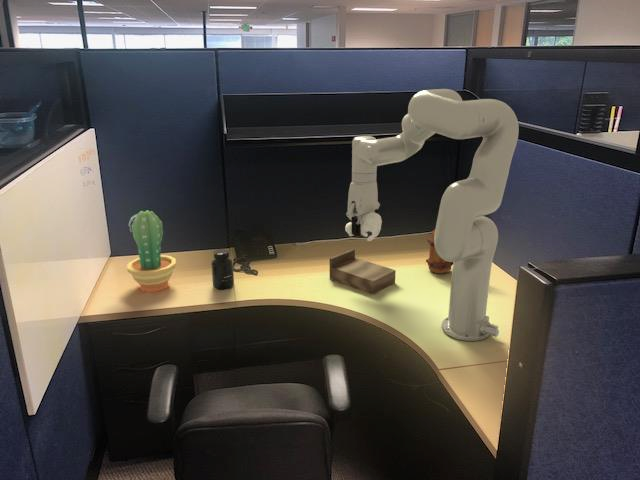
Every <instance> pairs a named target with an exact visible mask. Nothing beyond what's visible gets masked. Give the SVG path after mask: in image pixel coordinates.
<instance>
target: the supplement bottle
mask: <svg viewBox="0 0 640 480" xmlns="http://www.w3.org/2000/svg"><path fill="white" fill-rule="evenodd" d="M210 265H211V279H212V280H211V281H212V287H213V288H214V289H215V290H218V291H225V290H226V291H227V290H229V289H232V288H233V287H234V285H235V277H234V276H235V275H234V274H235V273H234V262H233V260H232V258H230V251H229V250H228V249H225V248H224V249H223V248H221V249H216V250H214V251H213V259H212V260H211V264H210Z"/></svg>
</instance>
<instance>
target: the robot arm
mask: <svg viewBox="0 0 640 480" xmlns="http://www.w3.org/2000/svg"><path fill="white" fill-rule="evenodd" d="M401 129H402V132H401V133H400V134H398V135H396V136H392V137H391V136H390V137H383V138H377V139H376V137H374V136H371V135H370V136H369V135H361V136H355V137H353V138H352V141H351V143H352V144H351V148H352V150H351V154H352V155H351V156H352V157H351V166H352V167H351V182H350V184H349V189H348V194H347V195H348V196H347V198H348V199H347V211H346V213H345V215H346V217H347V218H348V220H349V221H350V222H351V223H352V235H354V236H355V237H360V236H362V235H361V224H359V222H360V219H361V216H362V215H364V214H366V213H370V212H374V213H377V214H378V211H379V208H380V206H381V203H380V202H379V201H378V199H379V198H378V197H379V196H378V195H379V193H378V192H379V191H378V182H377V174H378V173H377V169H378V167H380V166H384V165H385V166H386V165H389V164H394V163H401V162H403V161H405V160H407V159H408V158H410V157H412V156H413V155H415V154H416V153H418V151H420V150H421V149H422V148H423V146H424V144H425V141H427V140H428V139H429V138H430V137H432V136H434V135H435V134H438V135H441V136H445V137H447V138H451V139H454V140H465V139H473V138H480V137H482V140H481V143H480V145H479V146H478V148H477V150H476V151H475V153H474V156H473V159H472V165H471V169H470V173H469V175H468V177H467V178H466V179H462V180H458V181H455V182H453V183H451V184H450V185H449V186H447V188H446V189H445V191H444V193H443V194H442V196H441V200H440V204H439V209H438V214H437V219H436V224H435V228H434V230H435V235H434V245H435V249H436V252H437V254H438V255H439V256H440V257H441V258H442V259H443V260H445V261H448V262H453V265H452V267H451V280H450V292H449V293H450V294H449V302H448V303H449V304H448V305H449V306H448V316H447V317H445V318H444V319H442V322H441V330H442V332H444V333H445V334H446V335H448V336H449V337H452V338H453V339H456V340H461V341H465V342H466V341H467V342H475V341H477V342H478V341H481V340H485V339H486V338H488V337H489V335H490V336H492V337H494V338H495V337H496V338H497V337H498V336H499V334H500V333H499V332H500V330H499V325H497V324H494V323H491V322H490V316H489V315H487V306H488V297H489V288H490V279H491V271H492V266H493V264H492V263H493V259H494V255H495V253H496V249H497V246H498V243H499V242H498V241H499V231H498V227H497V225H496V224H495V222H494V221H493V220H492V219H491V218H489V217H486V215H490V214H492V213H495V212H496V211H497V210H498V209H499V207H501V204H502V201H503V197H504V193H505V189H506V185H507V181H508V177H509V173H510V167H511V164H512V159H513V156H514V152H515V150H516V147H517V143H518V139H519V122H518V118H517V115H516V114H515V111H514V110H513V108H511V107H510V106H509V104H507V103H506V102H504V101H501V100H498V99H493V98H479V99H470V100H463V99H462V97H461V95H460V94H459V93H458V92H457V91H455V90H453V89H449V88H439V89H438V88H437V89H425V90H420V91H418V92H417V93H415V94H414V95H413V96H412V97H411V99H410V101H409V103H408V107H407V114H405V115H404V117H402V120H401Z"/></svg>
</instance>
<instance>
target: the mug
mask: <svg viewBox="0 0 640 480" xmlns="http://www.w3.org/2000/svg"><path fill="white" fill-rule="evenodd" d="M434 235H435V229H433V230H432V231H431V235H430V238H429V239H427V242H428V244H429V256H428V258H427V259H426V260H425V262H426V263H427V265H428V269H429V271H431V272H432V273H435V274H446V273H448V272H450V271H452V267H453V263H454V262H448V261H445V260H443V259H442V258H441V257H440V256H439V255H438V254H437V252H436V249H435V245H434Z"/></svg>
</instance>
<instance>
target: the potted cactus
mask: <svg viewBox="0 0 640 480" xmlns="http://www.w3.org/2000/svg"><path fill="white" fill-rule="evenodd" d="M128 221H129V222H128V227H129V231H130V233H132V236H133V240H134V241H135V243H136V245H137V250H138V256H139V257H137V258H134V259H133V260H131V261H129V262H127V264H126V270H127V272H128V273H129V274H131V277H132V278H133V280H134V282H136V283H137V284H138V285H139V286H140V287H139V288H140V290H141V291H143V292H147V293H148V292H149V293H152V292H153V293H154V292H159V291H162V290H165V289H166V288H168V287H169V281H170V279H171V278H172V275H173V272H174V269H175V268H176V262H177V260H176V258H175V257H173V256H171V255H166V254H164V255H163V254H161V253H162V251H161V247H162V246H161V244H162V240H163V235H164V230H163V229H164V227H163V222H162V220H161V219H160V218H159V216H157V215H156V213H155V212H154V211H153V210H151V211H149V209H147V210H145V211H143V210H140V211H139V212H138V213H136V214H134V215H132V216H131V218H130V219H129V220H128Z"/></svg>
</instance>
